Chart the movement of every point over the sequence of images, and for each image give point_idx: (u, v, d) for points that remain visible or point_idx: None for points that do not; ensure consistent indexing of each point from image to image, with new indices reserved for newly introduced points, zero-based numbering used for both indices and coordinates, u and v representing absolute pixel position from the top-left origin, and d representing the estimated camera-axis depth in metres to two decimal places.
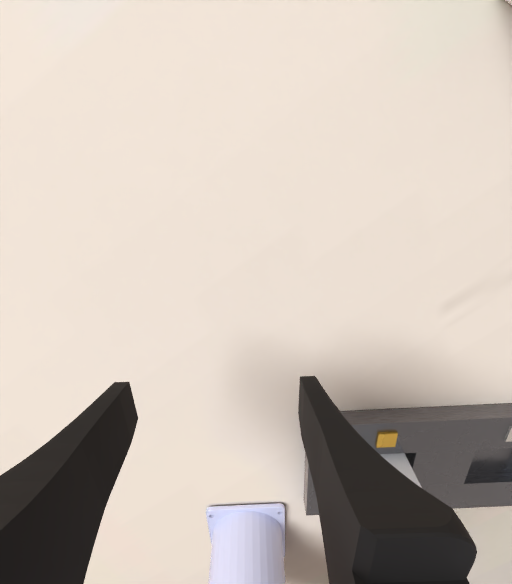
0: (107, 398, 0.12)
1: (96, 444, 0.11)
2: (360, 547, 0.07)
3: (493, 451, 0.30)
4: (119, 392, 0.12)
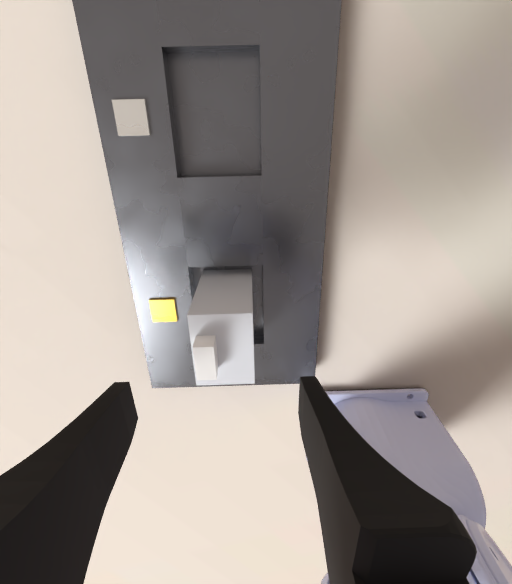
0: (107, 398, 0.12)
1: (96, 444, 0.11)
2: (360, 547, 0.07)
3: (210, 118, 0.17)
4: (119, 392, 0.12)
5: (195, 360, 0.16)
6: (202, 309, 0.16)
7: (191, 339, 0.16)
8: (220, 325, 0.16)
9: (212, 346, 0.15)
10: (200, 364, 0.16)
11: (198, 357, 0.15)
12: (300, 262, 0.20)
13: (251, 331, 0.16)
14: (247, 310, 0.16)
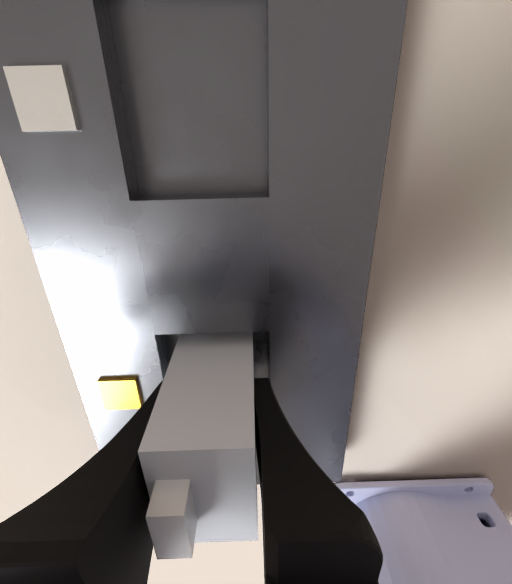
0: None
1: None
2: (267, 551, 0.07)
3: (184, 102, 0.10)
4: None
5: (152, 533, 0.09)
6: (166, 435, 0.09)
7: (148, 485, 0.09)
8: (198, 466, 0.09)
9: (182, 513, 0.08)
10: (161, 539, 0.09)
11: (157, 530, 0.09)
12: (327, 327, 0.13)
13: (252, 473, 0.09)
14: (245, 437, 0.09)
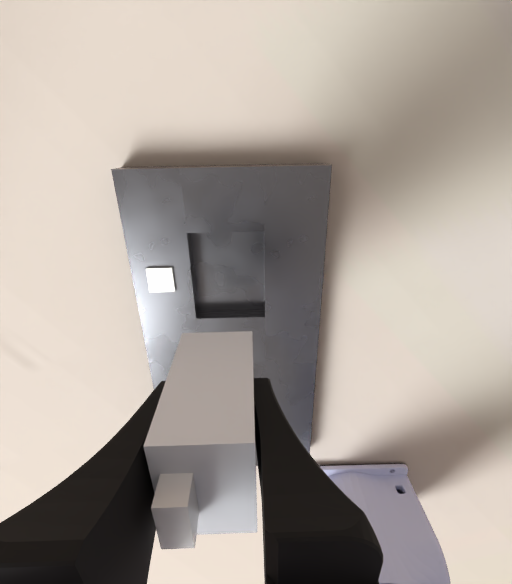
0: (159, 396, 0.12)
1: None
2: (267, 551, 0.07)
3: (223, 271, 0.21)
4: None
5: (157, 524, 0.09)
6: (170, 430, 0.10)
7: (153, 479, 0.10)
8: (201, 460, 0.09)
9: (185, 505, 0.09)
10: (166, 529, 0.09)
11: (162, 521, 0.09)
12: (296, 376, 0.24)
13: (252, 467, 0.10)
14: (245, 433, 0.10)
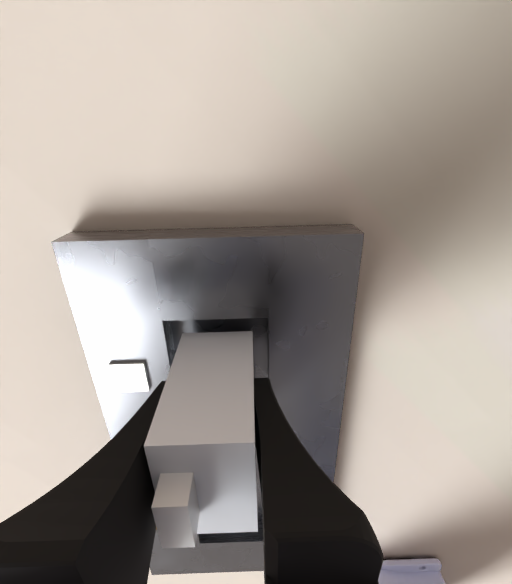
0: (159, 396, 0.12)
1: None
2: (267, 550, 0.07)
3: None
4: None
5: (157, 523, 0.09)
6: (170, 430, 0.10)
7: (153, 478, 0.10)
8: (201, 460, 0.10)
9: (185, 504, 0.09)
10: (166, 528, 0.09)
11: (162, 520, 0.09)
12: None
13: (252, 467, 0.10)
14: (244, 432, 0.10)
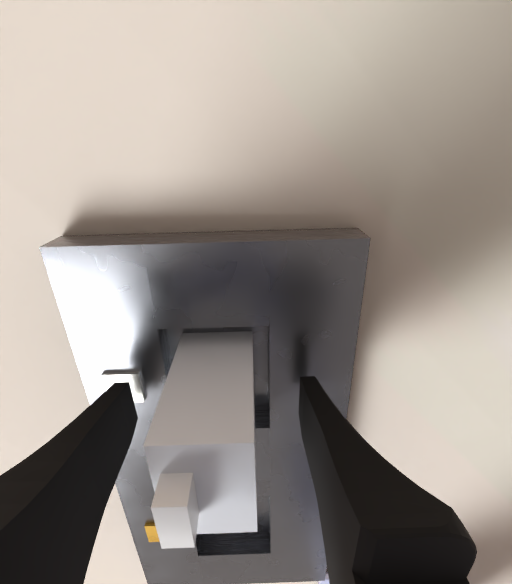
0: (107, 398, 0.12)
1: (96, 444, 0.11)
2: (360, 547, 0.07)
3: None
4: (119, 392, 0.12)
5: (157, 524, 0.09)
6: (170, 431, 0.10)
7: (153, 478, 0.10)
8: (201, 460, 0.10)
9: (185, 504, 0.09)
10: (166, 529, 0.09)
11: (161, 520, 0.09)
12: (311, 492, 0.18)
13: (252, 467, 0.10)
14: (244, 433, 0.10)
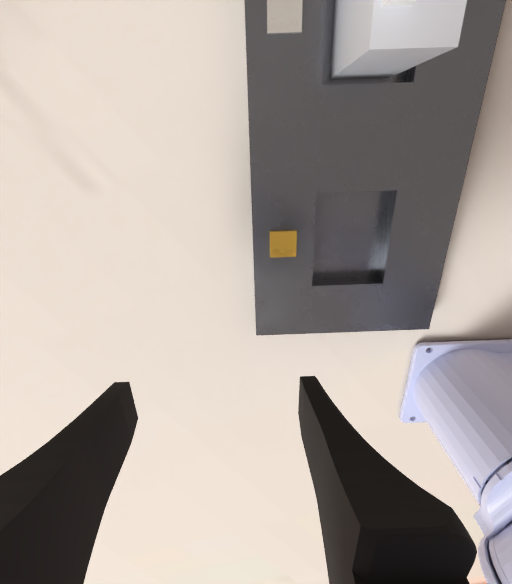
0: (107, 398, 0.12)
1: (96, 444, 0.11)
2: (360, 547, 0.07)
3: None
4: (119, 392, 0.12)
5: None
6: None
7: None
8: None
9: None
10: None
11: None
12: (438, 187, 0.18)
13: None
14: None
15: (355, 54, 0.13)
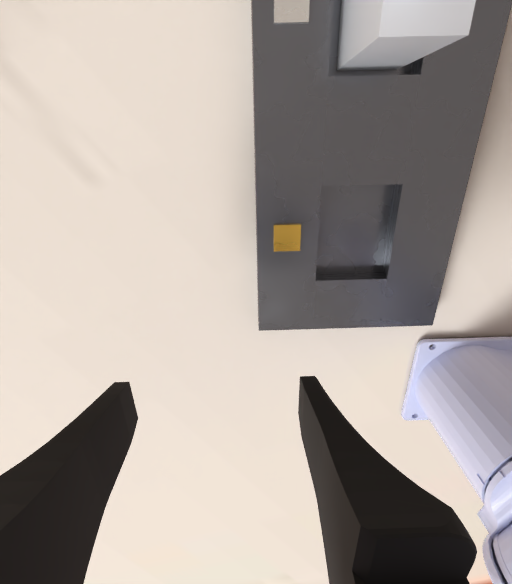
0: (107, 398, 0.12)
1: (96, 444, 0.11)
2: (360, 547, 0.07)
3: None
4: (119, 392, 0.12)
5: None
6: None
7: None
8: None
9: None
10: None
11: None
12: (443, 181, 0.18)
13: None
14: None
15: (363, 43, 0.13)
